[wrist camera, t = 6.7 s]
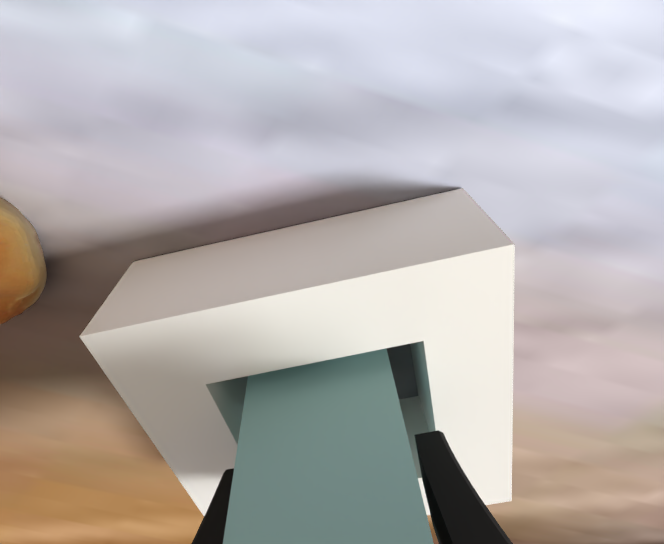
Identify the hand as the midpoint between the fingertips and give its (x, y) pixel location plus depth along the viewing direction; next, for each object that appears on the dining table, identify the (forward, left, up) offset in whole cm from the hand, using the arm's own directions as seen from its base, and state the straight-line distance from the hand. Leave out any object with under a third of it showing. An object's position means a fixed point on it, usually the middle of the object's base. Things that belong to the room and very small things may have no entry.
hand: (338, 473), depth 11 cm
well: (0, 0, -5) cm, 5 cm away
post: (+1, 0, -4) cm, 4 cm away
